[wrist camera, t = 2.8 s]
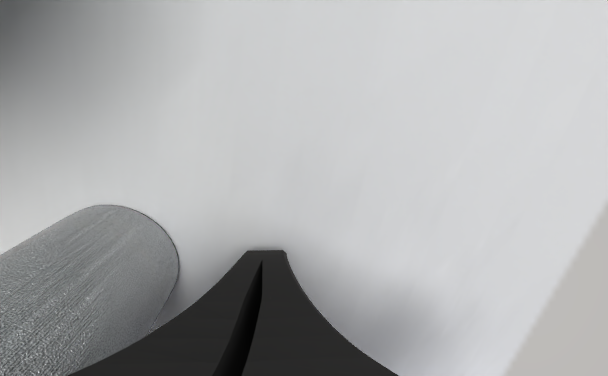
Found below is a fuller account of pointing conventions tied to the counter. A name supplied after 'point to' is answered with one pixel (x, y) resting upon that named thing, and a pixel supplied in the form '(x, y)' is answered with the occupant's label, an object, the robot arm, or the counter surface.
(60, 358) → the brushed metal tube
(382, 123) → the counter surface
